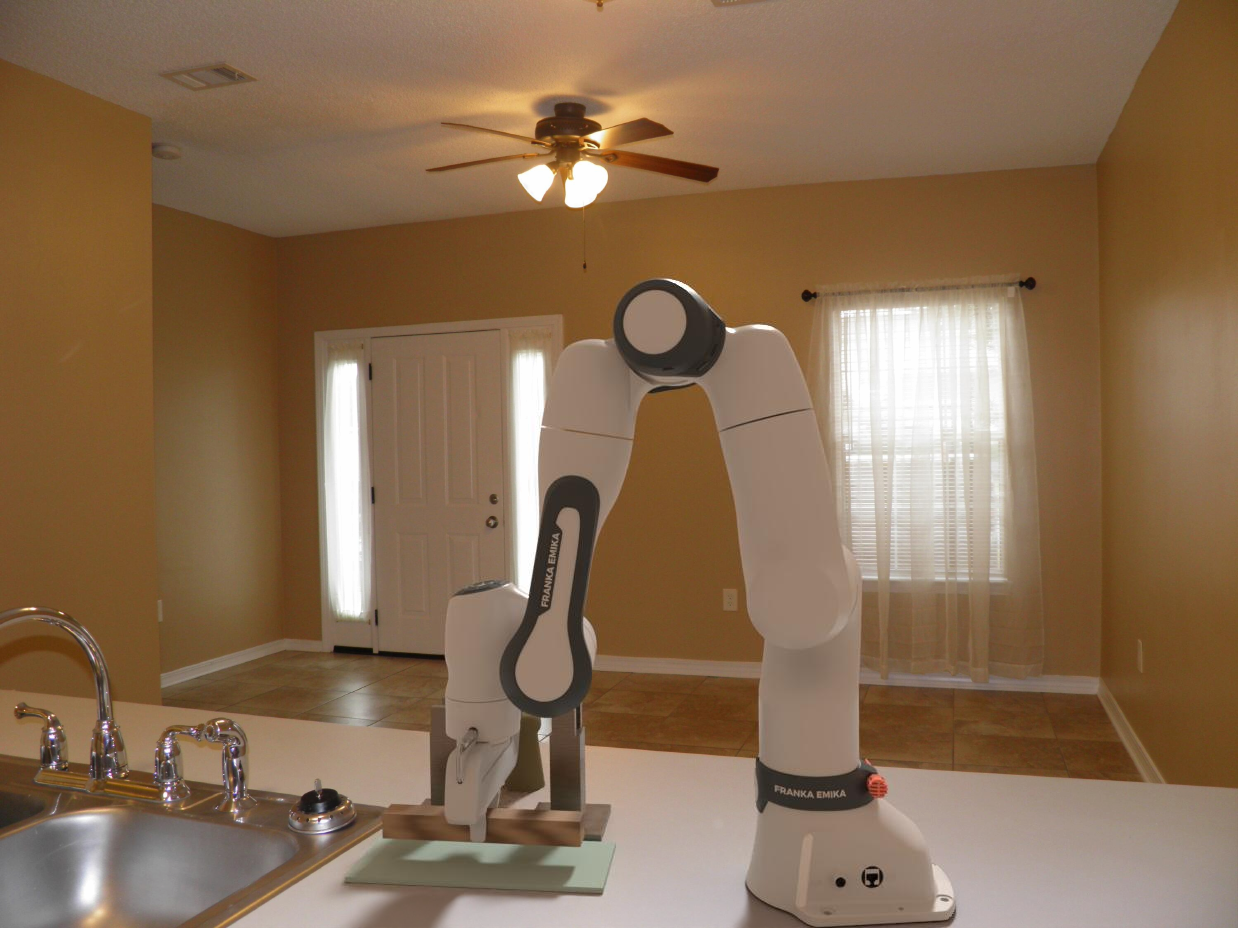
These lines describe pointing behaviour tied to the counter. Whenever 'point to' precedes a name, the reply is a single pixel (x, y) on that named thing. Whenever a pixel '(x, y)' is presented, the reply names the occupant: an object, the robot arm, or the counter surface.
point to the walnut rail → (501, 826)
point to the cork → (527, 758)
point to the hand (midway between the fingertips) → (484, 831)
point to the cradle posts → (563, 769)
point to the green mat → (486, 865)
